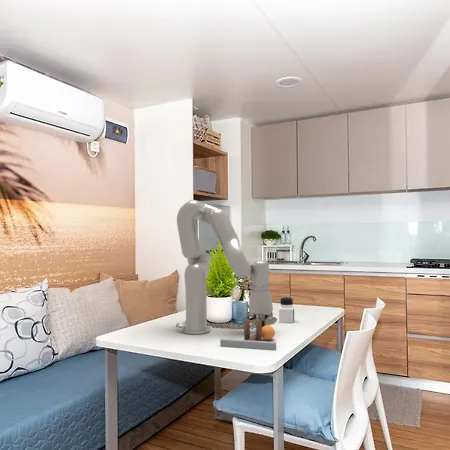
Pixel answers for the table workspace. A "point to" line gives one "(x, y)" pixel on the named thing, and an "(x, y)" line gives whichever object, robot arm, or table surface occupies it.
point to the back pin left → (246, 329)
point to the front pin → (252, 338)
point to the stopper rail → (248, 344)
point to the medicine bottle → (286, 310)
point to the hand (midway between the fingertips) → (261, 329)
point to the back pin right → (258, 330)
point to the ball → (267, 332)
